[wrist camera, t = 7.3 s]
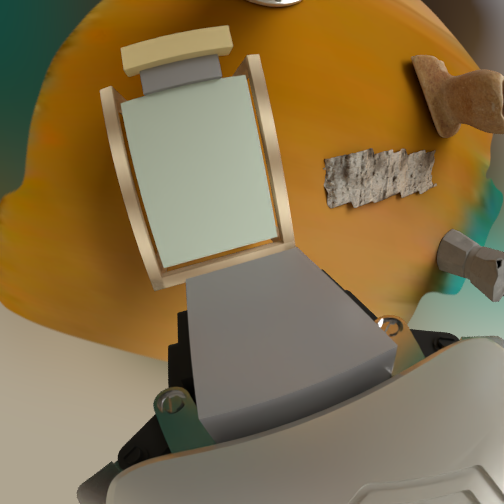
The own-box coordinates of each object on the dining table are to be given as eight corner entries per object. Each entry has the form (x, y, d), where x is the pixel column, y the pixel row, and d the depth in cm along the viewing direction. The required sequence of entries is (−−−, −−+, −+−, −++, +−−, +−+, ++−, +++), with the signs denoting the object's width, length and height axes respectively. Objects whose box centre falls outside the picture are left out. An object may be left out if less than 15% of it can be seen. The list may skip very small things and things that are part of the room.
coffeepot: (425, 254, 44) (500, 295, 28) (448, 213, 43) (523, 243, 26) (450, 286, 50) (508, 323, 33) (470, 251, 48) (529, 282, 32)
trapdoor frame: (124, 109, 26) (99, 90, 16) (235, 83, 28) (258, 54, 18) (161, 251, 33) (154, 291, 23) (263, 223, 35) (296, 250, 25)
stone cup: (462, 126, 37) (524, 133, 24) (431, 143, 37) (504, 152, 23) (438, 53, 31) (500, 44, 18) (402, 58, 31) (474, 43, 17)
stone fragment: (312, 160, 34) (330, 229, 38) (322, 161, 32) (340, 234, 36) (432, 128, 37) (441, 181, 41) (444, 128, 34) (452, 184, 38)
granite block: (185, 279, 12) (198, 418, 5) (296, 246, 12) (397, 345, 6) (216, 360, 14) (246, 481, 7) (307, 331, 14) (374, 433, 8)
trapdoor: (116, 64, 17) (107, 52, 14) (233, 38, 18) (241, 24, 15) (164, 263, 23) (162, 278, 21) (273, 233, 25) (285, 244, 22)
